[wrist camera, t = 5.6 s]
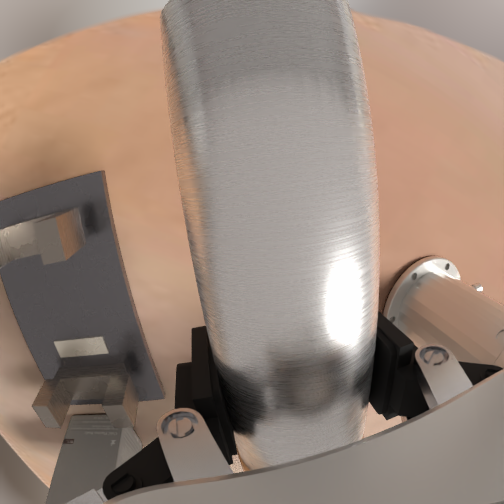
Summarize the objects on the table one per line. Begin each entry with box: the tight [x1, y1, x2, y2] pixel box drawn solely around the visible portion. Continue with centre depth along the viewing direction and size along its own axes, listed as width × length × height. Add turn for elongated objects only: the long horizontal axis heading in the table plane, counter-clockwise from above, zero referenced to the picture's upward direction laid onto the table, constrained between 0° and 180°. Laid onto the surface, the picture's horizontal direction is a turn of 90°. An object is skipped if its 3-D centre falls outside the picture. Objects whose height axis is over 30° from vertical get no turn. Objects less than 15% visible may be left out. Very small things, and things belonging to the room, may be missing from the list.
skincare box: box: [46, 415, 142, 504], centre depth 24 cm, size 8×7×16 cm
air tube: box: [160, 0, 380, 471], centre depth 10 cm, size 22×5×5 cm, turn 7°
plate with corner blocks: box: [0, 171, 165, 428], centre depth 23 cm, size 14×24×8 cm, turn 7°
